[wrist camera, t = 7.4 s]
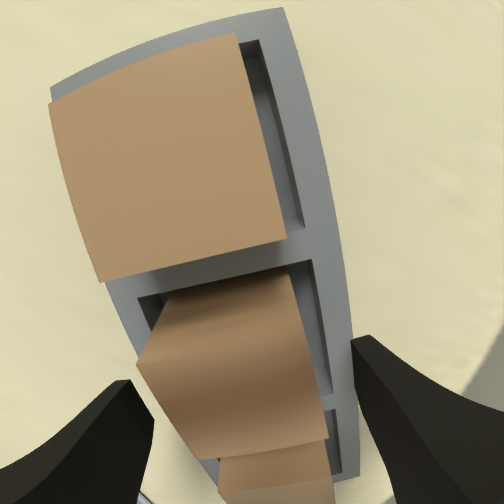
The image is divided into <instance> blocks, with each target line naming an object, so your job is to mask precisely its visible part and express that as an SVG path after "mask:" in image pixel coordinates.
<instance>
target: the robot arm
mask: <svg viewBox="0 0 504 504" xmlns="http://www.w3.org/2000/svg"><path fill="white" fill-rule="evenodd" d="M350 343H351V353H352V364H353V376H354V388H355V391H356V394H357V397H358V401H359V404H360V407H361V411H362V414H363V416H364V418H365V421H366V423H367V425H368V427H369V430H370V432H371V434H372V437H373V439H374V441H375V443H376V446H377V448H378V450H379V453H380V455H381V457H382V459H383V462H384V464H385V466H386V469H387V472H388V475H389V477H390V481H391V484H392V488H393V492H394V495H395V499H396V503H397V504H504V412H502V411H498V410H496V409H493V408H490V407H487V406H484V405H482V404H479V403H476V402H474V401H471V400H469V399H467V398H464V397H463V396H460V395H458V394H456V393H454V392H452V391H450V390H448V389H446V388H445V387H443V386H441V385H439V384H438V383H436V382H434V381H433V380H431V379H429V378H428V377H426V376H425V375H423V374H422V373H420V372H418V371H417V370H416V369H414V368H413V367H411V366H410V365H408V364H407V363H406V362H404V361H403V360H401V359H400V358H399V357H397V356H396V355H395V354H394V353H392V352H391V351H390V350H388V349H387V348H386V347H385V346H383V345H382V344H381V343H380V342H378V341H377V340H376V339H375V338H374V337H372V336H371V335H366V336H362V337H359V338H355V339H352V340H350ZM153 430H154V418H153V417H152V415H151V413H150V412H149V410H148V409H147V407H146V405H145V404H144V402H143V400H142V399H141V397H140V395H139V394H138V392H137V390H136V389H135V387H134V385H133V383H132V382H131V380H130V379H129V380H117V381H115V382H113V383H112V384H111V385H110V386H108V387H107V388H106V389H105V390H104V391H103V392H102V393H101V394H99V395H98V396H97V397H96V398H95V399H94V400H93V401H92V402H91V403H90V404H89V405H88V406H87V407H86V408H85V409H83V410H82V411H81V412H80V413H79V414H78V415H77V416H76V417H75V418H74V419H73V420H72V421H70V422H69V423H68V424H67V425H66V426H65V427H64V428H62V429H61V430H60V431H59V432H58V433H57V434H55V435H54V436H53V437H52V438H50V439H49V440H48V441H47V442H45V443H44V444H42V445H41V446H40V447H38V448H37V449H35V450H34V451H32V452H31V453H29V454H28V455H26V456H24V457H22V458H21V459H19V460H17V461H15V462H14V463H12V464H10V465H8V466H6V467H4V468H2V469H0V504H151V503H150V502H149V501H148V500H147V499H146V498H144V497H143V496H142V495H141V494H140V493H139V491H140V488H141V484H142V480H143V476H144V472H145V469H146V465H147V461H148V457H149V453H150V450H151V445H152V439H153Z"/></svg>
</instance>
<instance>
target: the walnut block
mask: <svg viewBox="0 0 504 504" xmlns="http://www.w3.org/2000/svg"><path fill="white" fill-rule="evenodd" d="M136 366H137V368H138V370H139V371H140V373H141V375H142V377H143V378H144V380H145V382H146V383H147V385H148V387H149V388H150V390H151V392H152V393H153V395H154V397H155V398H156V400H157V401H158V403H159V404H160V406H161V408H162V409H163V411H164V412H165V414H166V415H167V417H168V418H169V420H170V421H171V423H172V424H173V426H174V427H175V429H176V430H177V432H178V433H179V435H180V436H181V438H182V439H183V440H184V442H185V443H186V445H187V446H188V447H189V449H190V450H191V452H192V453H193V454H194V456H195V457H196V458H197V460H201V459H212V458H222V457H231V456H239V455H246V454H253V453H259V452H265V451H271V450H277V449H282V448H287V447H292V446H297V445H301V444H306V443H310V442H315V441H319V440H323V439H327V438H329V435H328V430H327V426H326V421H325V417H324V412H323V408H322V403H321V399H320V395H319V390H318V386H317V382H316V378H315V373H314V369H313V365H312V361H311V356H310V352H309V348H308V344H307V340H306V336H305V332H304V328H303V324H302V320H301V317H300V313H299V309H298V306H297V302H296V298H295V295H294V291H293V287H292V284H291V280H290V276H289V273H288V269H287V266H286V265H283V266H279V267H274V268H270V269H266V270H261V271H257V272H253V273H248V274H244V275H239V276H235V277H230V278H226V279H222V280H217V281H213V282H208V283H204V284H199V285H195V286H190V287H185V288H181V289H176V290H173V291H172V292H171V294H170V296H169V298H168V300H167V302H166V304H165V306H164V308H163V310H162V312H161V314H160V316H159V318H158V320H157V322H156V324H155V326H154V328H153V330H152V332H151V334H150V336H149V338H148V340H147V342H146V344H145V346H144V348H143V350H142V352H141V355H140V357H139V359H138V361H137V363H136Z"/></svg>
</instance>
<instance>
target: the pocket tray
mask: <svg viewBox="0 0 504 504" xmlns="http://www.w3.org/2000/svg"><path fill="white" fill-rule="evenodd" d="M50 90H51V97H52V102H51V103H50V104H48V108H49V113H50V119H51V124H52V129H53V133H54V138H55V143H56V147H57V151H58V155H59V160H60V164H61V167H62V171H63V175H64V179H65V182H66V186H67V190H68V193H69V196H70V200H71V203H72V206H73V210H74V213H75V216H76V219H77V222H78V225H79V228H80V231H81V234H82V237H83V240H84V243H85V246H86V248H87V251H88V254H89V257H90V259H91V262H92V265H93V267H94V270H95V272H96V275H97V277H98V280H99V282H100V283H102V282H105V284H106V287H107V289H108V292H109V294H110V297H111V299H112V301H113V304H114V306H115V308H116V311H117V313H118V315H119V317H120V319H121V322H122V324H123V326H124V328H125V330H126V333H127V335H128V337H129V339H130V341H131V343H132V345H133V347H134V349H135V351H136V353H137V355H138V357H140V355H141V352H142V350H143V348H144V346H145V344H146V342H147V340H148V338H149V336H150V334H151V332H152V330H153V328H154V326H155V324H156V322H157V320H158V318H159V316H160V314H161V312H162V310H163V308H164V306H165V304H166V302H167V300H168V298H169V296H170V294H171V292H172V291H173V290H176V289H181V288H185V287H190V286H195V285H199V284H204V283H208V282H213V281H217V280H222V279H226V278H230V277H235V276H239V275H244V274H248V273H253V272H257V271H261V270H266V269H270V268H274V267H279V266H283V265H286V266H287V269H288V273H289V276H290V280H291V284H292V287H293V291H294V295H295V298H296V302H297V306H298V309H299V313H300V317H301V320H302V324H303V328H304V332H305V336H306V340H307V344H308V348H309V352H310V356H311V361H312V365H313V369H314V373H315V378H316V382H317V386H318V390H319V395H320V399H321V403H322V408H323V412H324V417H325V421H326V426H327V430H328V435H329V438H327V439H323V440H319V441H315V442H310V443H306V444H301V445H297V446H292V447H287V448H282V449H277V450H271V451H265V452H259V453H253V454H246V455H239V456H231V457H222V458H212V459H201V460H199V461H200V463H201V464H202V466H203V467H204V469H205V470H206V472H207V473H208V474H209V476H210V477H211V479H212V480H213V481H214V483H215V484H216V486H217V487H218V493H219V494H220V496H221V497H222V498H223V500H224V501H225V502H226V503H227V504H335V496H334V489H333V483H334V482H338V481H342V480H346V479H350V478H354V477H358V476H360V441H359V413H358V397H357V394H356V391H355V388H354V376H353V364H352V353H351V343H350V340H352V339H353V333H352V323H351V314H350V306H349V298H348V290H347V282H346V275H345V268H344V261H343V255H342V248H341V242H340V236H339V230H338V224H337V218H336V213H335V207H334V202H333V197H332V191H331V186H330V181H329V176H328V172H327V167H326V162H325V158H324V153H323V149H322V144H321V140H320V135H319V131H318V127H317V123H316V119H315V115H314V111H313V107H312V103H311V99H310V95H309V91H308V88H307V84H306V80H305V77H304V73H303V70H302V66H301V63H300V59H299V56H298V52H297V49H296V46H295V43H294V39H293V36H292V33H291V30H290V27H289V24H288V21H287V18H286V15H285V12H284V9H283V7H280V8H274V9H267V10H262V11H256V12H251V13H246V14H241V15H236V16H232V17H228V18H223V19H219V20H215V21H211V22H207V23H204V24H200V25H197V26H193V27H190V28H186V29H183V30H180V31H177V32H174V33H171V34H168V35H165V36H162V37H159V38H156V39H153V40H150V41H148V42H145V43H142V44H140V45H137V46H135V47H132V48H130V49H127V50H125V51H122V52H120V53H118V54H115V55H113V56H111V57H109V58H106V59H104V60H102V61H100V62H98V63H96V64H93V65H91V66H89V67H87V68H85V69H83V70H81V71H79V72H77V73H75V74H73V75H72V76H70V77H68V78H66V79H64V80H62V81H60V82H59V83H57V84H55V85H53V86H52V87H50Z"/></svg>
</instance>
